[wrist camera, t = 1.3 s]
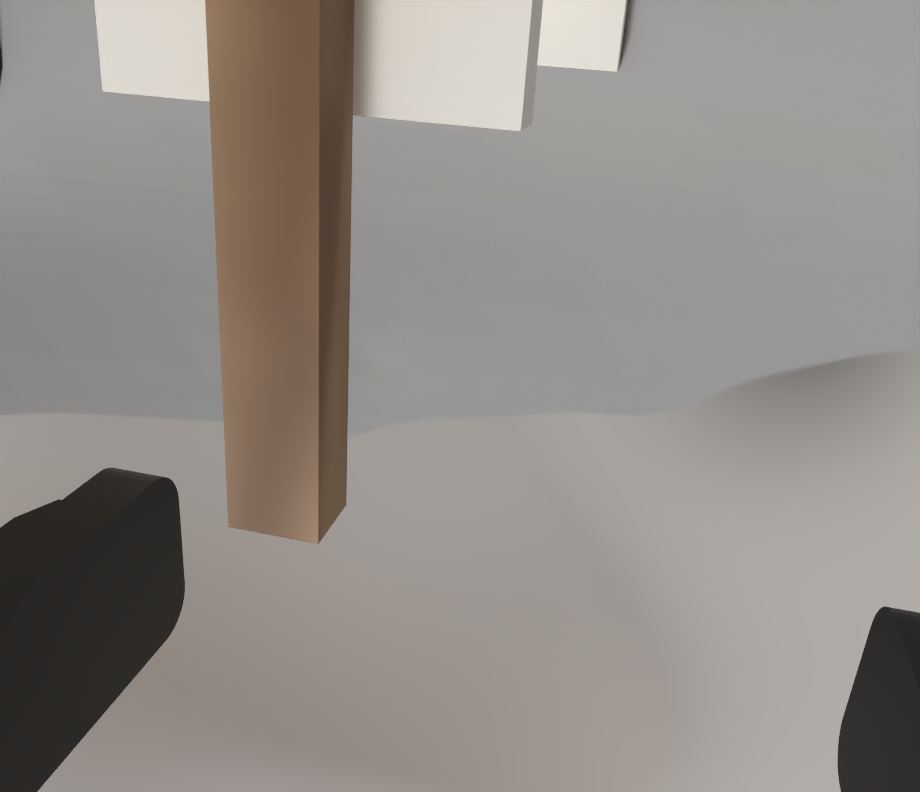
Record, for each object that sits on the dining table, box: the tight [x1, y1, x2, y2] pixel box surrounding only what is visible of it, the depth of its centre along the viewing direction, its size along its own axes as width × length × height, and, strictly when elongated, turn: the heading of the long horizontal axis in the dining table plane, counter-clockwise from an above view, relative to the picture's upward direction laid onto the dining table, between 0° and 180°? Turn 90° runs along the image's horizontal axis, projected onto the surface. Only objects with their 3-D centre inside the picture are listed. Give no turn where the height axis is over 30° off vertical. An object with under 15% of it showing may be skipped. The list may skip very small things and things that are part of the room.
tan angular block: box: [205, 0, 354, 544], centre depth 19 cm, size 7×20×2 cm, turn 176°
